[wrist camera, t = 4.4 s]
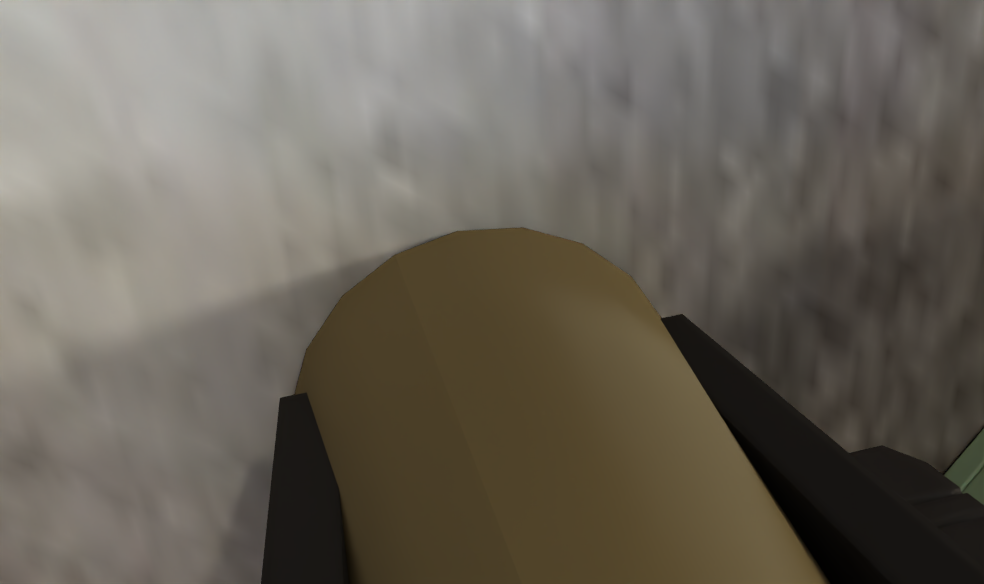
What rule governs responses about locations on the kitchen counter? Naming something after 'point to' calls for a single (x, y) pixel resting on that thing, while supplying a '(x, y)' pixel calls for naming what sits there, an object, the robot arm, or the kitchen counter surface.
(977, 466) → the compartment tray
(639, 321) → the cork
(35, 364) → the kitchen counter surface
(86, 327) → the kitchen counter surface
